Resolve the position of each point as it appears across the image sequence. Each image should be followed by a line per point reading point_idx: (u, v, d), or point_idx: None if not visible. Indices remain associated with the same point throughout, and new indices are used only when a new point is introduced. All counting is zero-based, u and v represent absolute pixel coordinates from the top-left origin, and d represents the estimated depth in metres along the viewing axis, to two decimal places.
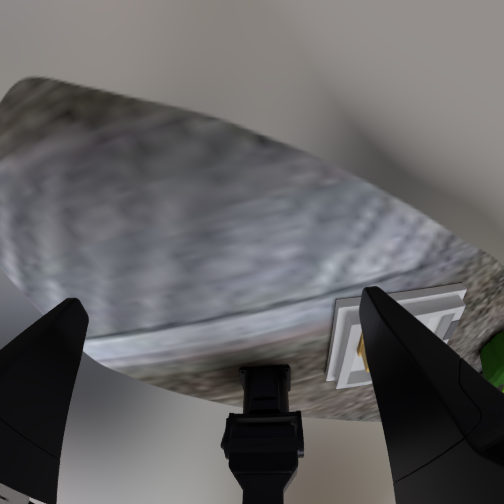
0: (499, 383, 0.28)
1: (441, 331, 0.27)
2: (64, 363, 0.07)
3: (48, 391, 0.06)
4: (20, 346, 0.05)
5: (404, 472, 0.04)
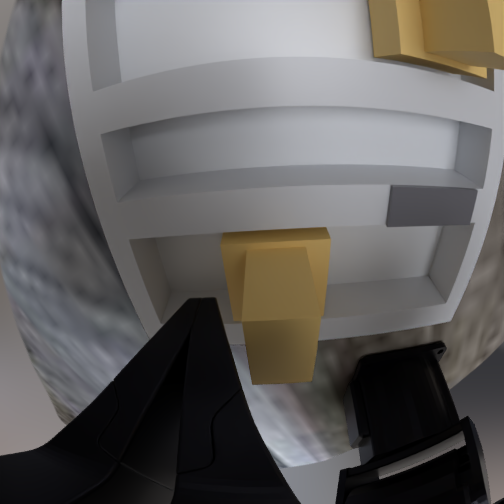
0: None
1: None
2: None
3: None
4: (155, 368, 0.05)
5: None
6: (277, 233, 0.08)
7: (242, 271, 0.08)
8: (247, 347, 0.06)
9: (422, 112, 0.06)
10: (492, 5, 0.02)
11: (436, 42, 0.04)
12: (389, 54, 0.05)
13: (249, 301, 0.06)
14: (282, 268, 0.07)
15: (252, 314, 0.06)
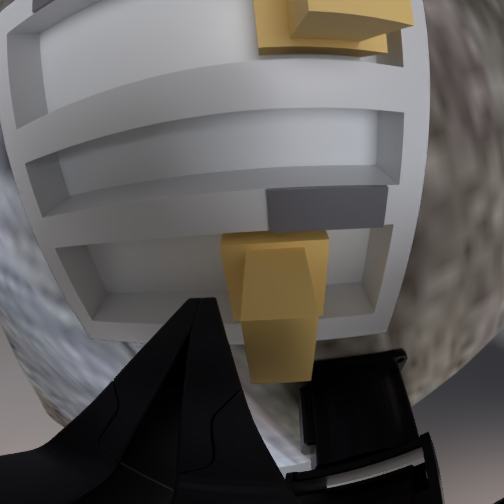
0: None
1: None
2: None
3: None
4: (155, 368, 0.05)
5: None
6: (275, 234, 0.08)
7: (241, 271, 0.08)
8: (246, 346, 0.06)
9: (294, 106, 0.06)
10: None
11: (290, 24, 0.04)
12: (259, 50, 0.06)
13: (248, 301, 0.06)
14: (280, 268, 0.07)
15: (251, 313, 0.06)
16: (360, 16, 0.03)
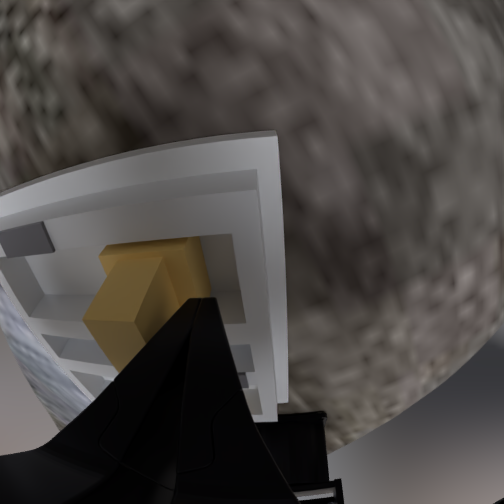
0: None
1: None
2: None
3: None
4: (156, 367, 0.05)
5: None
6: None
7: None
8: None
9: None
10: (111, 356, 0.07)
11: None
12: None
13: None
14: None
15: None
16: None
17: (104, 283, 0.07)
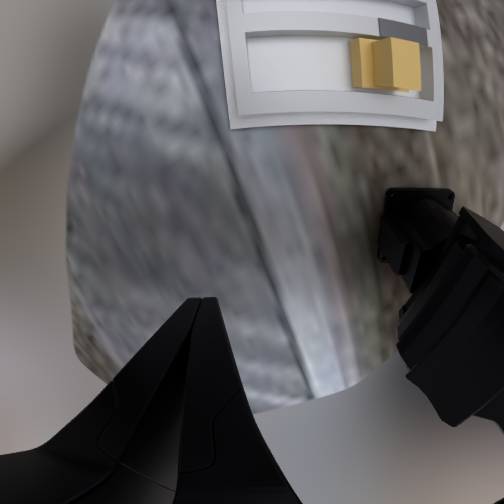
0: None
1: None
2: None
3: None
4: (154, 367, 0.05)
5: None
6: None
7: (369, 53, 0.11)
8: (392, 53, 0.09)
9: None
10: None
11: None
12: None
13: (388, 38, 0.09)
14: None
15: (392, 38, 0.09)
16: None
17: None
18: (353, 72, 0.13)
